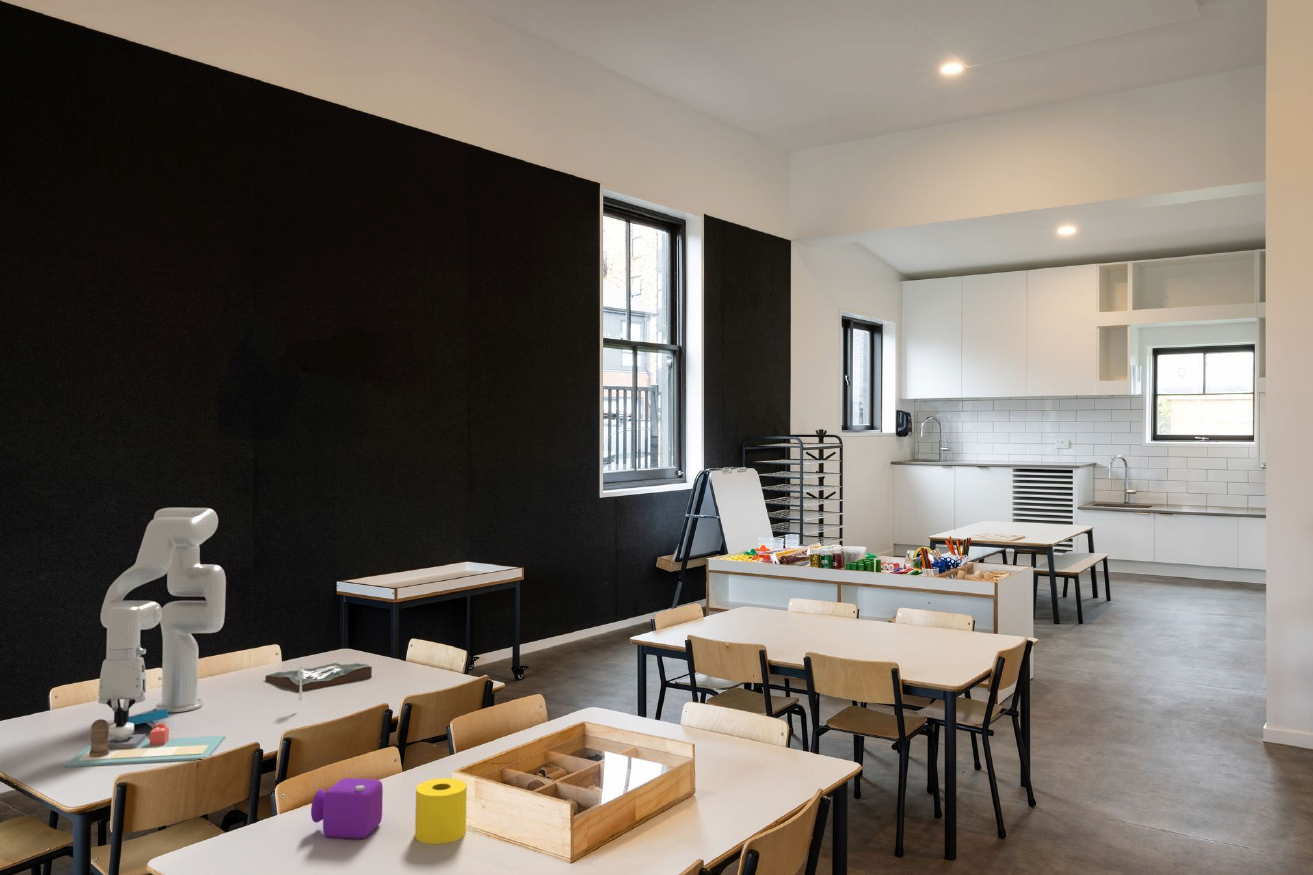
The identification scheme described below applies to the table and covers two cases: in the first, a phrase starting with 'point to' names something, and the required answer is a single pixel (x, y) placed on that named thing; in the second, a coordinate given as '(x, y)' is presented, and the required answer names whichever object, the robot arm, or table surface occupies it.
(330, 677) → the relief map
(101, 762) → the board
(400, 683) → the table surface
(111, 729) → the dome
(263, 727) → the table surface
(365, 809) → the toy camera
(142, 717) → the lever
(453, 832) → the yellow toilet paper roll
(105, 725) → the pawn
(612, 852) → the table surface
